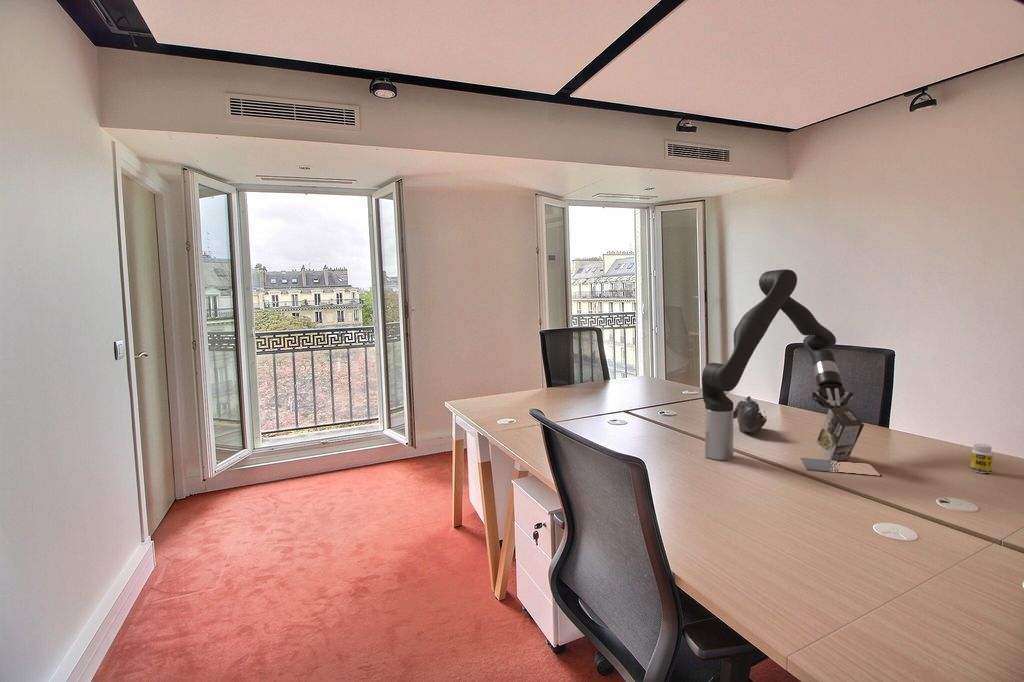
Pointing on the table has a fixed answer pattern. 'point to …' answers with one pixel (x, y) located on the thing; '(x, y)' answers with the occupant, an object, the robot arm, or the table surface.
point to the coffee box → (839, 433)
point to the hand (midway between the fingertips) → (837, 417)
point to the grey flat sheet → (819, 464)
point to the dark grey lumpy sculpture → (749, 416)
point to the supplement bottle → (981, 458)
